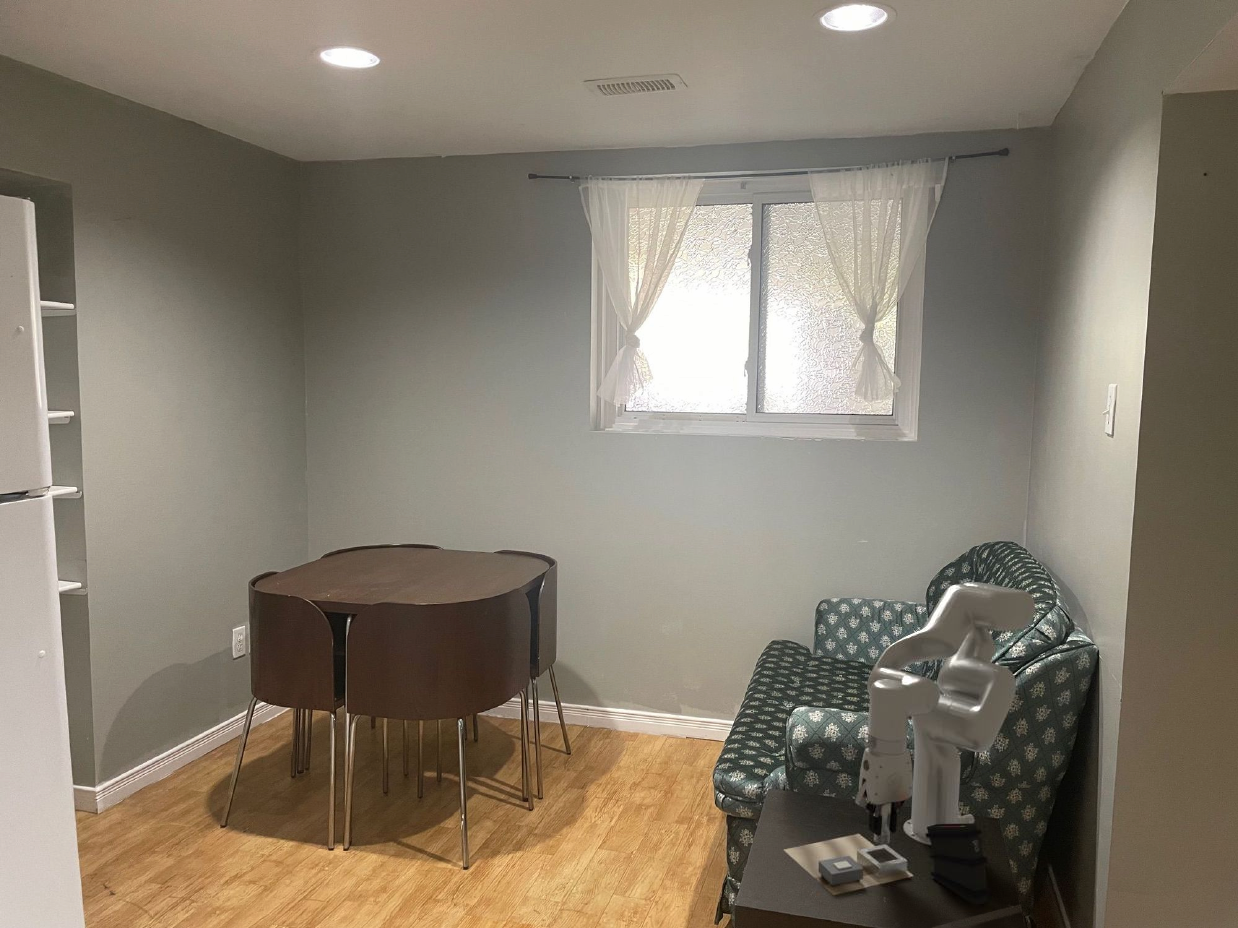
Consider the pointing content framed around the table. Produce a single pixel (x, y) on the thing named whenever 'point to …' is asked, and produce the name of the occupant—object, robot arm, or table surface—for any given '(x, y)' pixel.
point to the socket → (886, 869)
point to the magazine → (959, 860)
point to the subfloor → (838, 848)
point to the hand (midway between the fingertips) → (882, 830)
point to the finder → (840, 870)
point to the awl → (884, 824)
